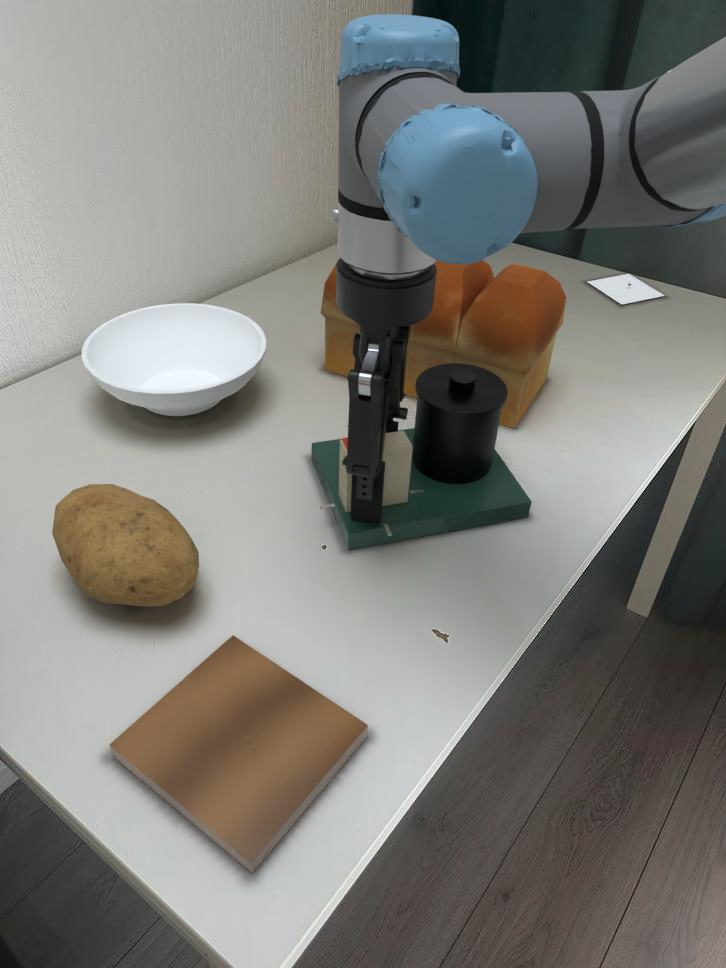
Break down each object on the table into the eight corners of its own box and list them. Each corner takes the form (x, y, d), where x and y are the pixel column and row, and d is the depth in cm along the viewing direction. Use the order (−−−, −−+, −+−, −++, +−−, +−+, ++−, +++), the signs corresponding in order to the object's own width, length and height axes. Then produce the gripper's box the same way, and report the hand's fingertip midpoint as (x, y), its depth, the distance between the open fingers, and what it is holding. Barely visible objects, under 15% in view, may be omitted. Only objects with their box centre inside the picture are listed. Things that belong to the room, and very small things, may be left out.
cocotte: (508, 478, 75) (525, 394, 69) (426, 492, 73) (436, 407, 67) (474, 428, 82) (487, 347, 75) (397, 440, 80) (404, 357, 73)
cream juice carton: (399, 485, 74) (404, 428, 70) (407, 502, 72) (413, 444, 68) (338, 495, 72) (339, 437, 68) (345, 512, 71) (347, 454, 66)
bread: (320, 369, 93) (320, 252, 84) (367, 327, 102) (372, 216, 93) (517, 431, 85) (542, 308, 76) (550, 379, 94) (576, 263, 84)
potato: (144, 663, 59) (128, 593, 54) (37, 577, 66) (13, 506, 61) (236, 592, 65) (229, 522, 60) (130, 519, 72) (115, 450, 67)
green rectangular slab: (533, 524, 73) (537, 507, 72) (334, 561, 68) (334, 544, 67) (471, 434, 84) (474, 417, 83) (296, 460, 80) (295, 443, 78)
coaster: (586, 281, 115) (587, 276, 115) (628, 273, 118) (630, 268, 118) (621, 304, 110) (623, 299, 109) (665, 295, 113) (666, 290, 112)
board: (367, 736, 55) (368, 724, 54) (252, 873, 48) (251, 862, 47) (234, 647, 61) (232, 634, 60) (112, 756, 53) (108, 744, 52)
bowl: (184, 337, 98) (178, 287, 94) (303, 390, 90) (303, 337, 85) (55, 404, 86) (41, 350, 81) (180, 472, 77) (172, 416, 73)
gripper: (364, 210, 65) (356, 434, 80) (303, 307, 51) (307, 557, 66) (453, 220, 64) (428, 446, 78) (415, 323, 50) (393, 574, 64)
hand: (373, 496), depth 72 cm, fingers open, 5 cm apart
